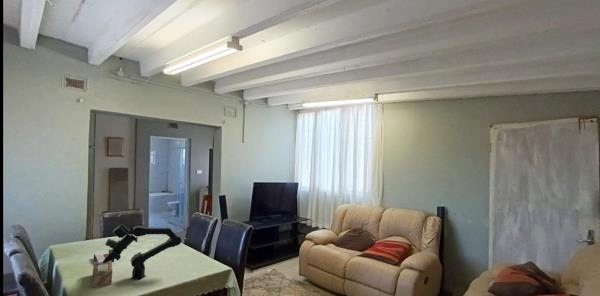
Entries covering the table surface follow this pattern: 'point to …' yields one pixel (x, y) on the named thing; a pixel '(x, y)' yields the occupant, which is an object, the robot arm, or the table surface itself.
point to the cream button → (103, 267)
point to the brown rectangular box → (102, 275)
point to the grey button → (101, 262)
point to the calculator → (101, 256)
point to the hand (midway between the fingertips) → (103, 262)
